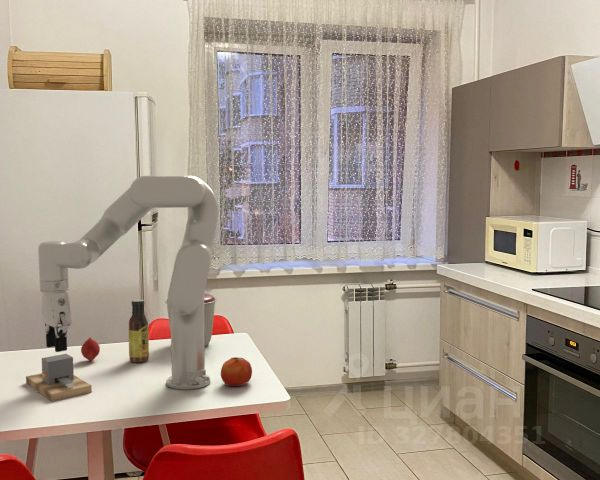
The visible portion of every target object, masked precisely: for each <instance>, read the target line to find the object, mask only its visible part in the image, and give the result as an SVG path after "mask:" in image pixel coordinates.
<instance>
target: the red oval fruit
mask: <svg viewBox="0 0 600 480" xmlns="http://www.w3.org/2000/svg"><path fill="white" fill-rule="evenodd" d="M100 348H101V347H100V344H99V343H98V342H97V341H96V340H94V339H93V337H92V336H89V338H88V339H87V340H85V341H84V342H83V344H82V345H81V348H80V353H81V355H82V356H83V358H85V359H86V360H88V361H89V362H93V361H94V360H95V359H96V358H97V356H99V354H100V351H101V349H100Z"/></svg>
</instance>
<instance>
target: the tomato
mask: <svg viewBox="0 0 600 480" xmlns="http://www.w3.org/2000/svg"><path fill="white" fill-rule="evenodd" d="M252 376H253V369H252V365H251V363H250V362H249V361H248V360H247V359H245V358H243V357H231V358H229V359H228V360H226V361H224V362H223V364H222V365H221V368H220V377H221V380H222V382H224V384H225V385H226V386H230V387H240V386H244V385H245V384H247V383H249V382H250V380H251V378H252Z"/></svg>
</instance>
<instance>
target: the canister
mask: <svg viewBox="0 0 600 480" xmlns="http://www.w3.org/2000/svg"><path fill="white" fill-rule="evenodd" d="M217 301H218V299H217V297H215V296H214V295H212V294H210V293H206V292H204V347H206V346H208V344H210V342H211V341H212V335H213V326H214V316H215V308H216V307H215V306H216V304H215V303H216V302H217ZM164 302H165V305H166V309H167V318H168V323H169V324H168V325H169V331H170V333H171V307H170V306H169V303H168V297H167V298H166V299H165V300H164Z"/></svg>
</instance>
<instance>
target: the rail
mask: <svg viewBox="0 0 600 480" xmlns="http://www.w3.org/2000/svg"><path fill="white" fill-rule="evenodd" d="M54 381H55V382H57V383H59V384H60V385H62V386H63V387H65V388H66V389H71V388H73V384H75V382H73V381H71V380H70V379H68V378H66V377H65V376H64V377H59V378H54Z"/></svg>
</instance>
